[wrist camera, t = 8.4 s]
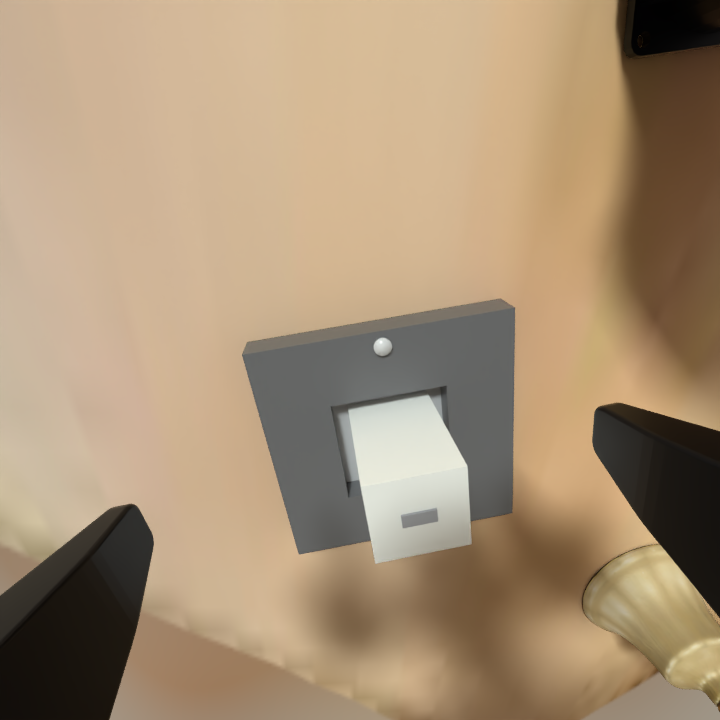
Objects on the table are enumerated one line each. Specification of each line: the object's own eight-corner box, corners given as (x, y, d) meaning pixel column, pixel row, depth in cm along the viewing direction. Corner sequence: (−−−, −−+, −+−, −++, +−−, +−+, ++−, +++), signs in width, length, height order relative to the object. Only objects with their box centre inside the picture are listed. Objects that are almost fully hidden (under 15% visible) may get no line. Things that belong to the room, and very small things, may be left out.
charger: (426, 390, 21) (468, 468, 15) (432, 454, 22) (472, 546, 17) (347, 405, 21) (361, 488, 15) (359, 469, 22) (375, 565, 17)
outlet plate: (500, 298, 19) (517, 309, 18) (501, 494, 24) (514, 515, 23) (247, 342, 19) (241, 356, 17) (299, 533, 24) (298, 557, 22)
